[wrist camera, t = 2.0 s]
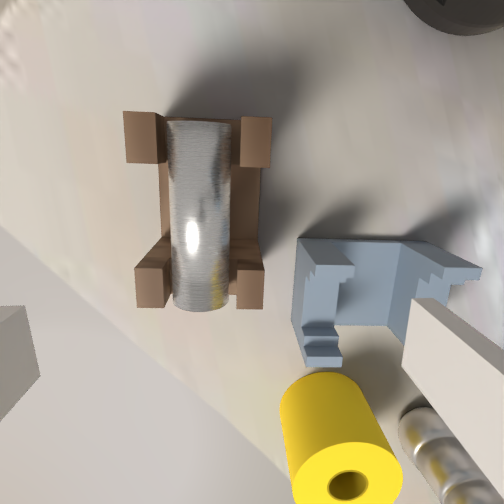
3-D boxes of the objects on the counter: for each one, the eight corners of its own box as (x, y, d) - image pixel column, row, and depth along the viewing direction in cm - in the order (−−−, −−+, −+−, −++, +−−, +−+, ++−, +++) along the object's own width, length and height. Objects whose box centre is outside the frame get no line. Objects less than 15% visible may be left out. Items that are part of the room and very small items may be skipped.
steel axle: (173, 124, 22) (159, 119, 18) (232, 127, 23) (230, 122, 19) (178, 287, 26) (168, 311, 22) (229, 288, 26) (227, 312, 22)
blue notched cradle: (297, 238, 32) (316, 264, 25) (425, 241, 33) (482, 268, 25) (290, 319, 35) (305, 367, 27) (409, 321, 36) (457, 367, 28)
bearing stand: (165, 264, 32) (137, 307, 23) (159, 124, 29) (122, 110, 20) (255, 266, 33) (262, 309, 24) (261, 128, 29) (272, 117, 20)
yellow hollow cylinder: (338, 356, 37) (371, 423, 28) (378, 416, 39) (420, 494, 30) (263, 399, 38) (271, 476, 29) (306, 454, 40) (326, 540, 31)
